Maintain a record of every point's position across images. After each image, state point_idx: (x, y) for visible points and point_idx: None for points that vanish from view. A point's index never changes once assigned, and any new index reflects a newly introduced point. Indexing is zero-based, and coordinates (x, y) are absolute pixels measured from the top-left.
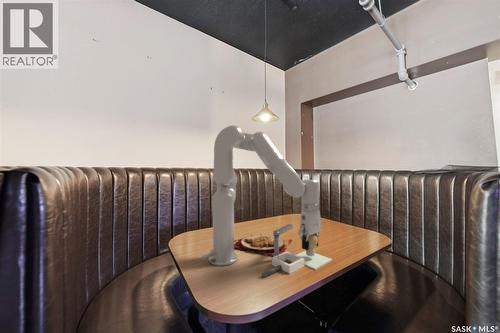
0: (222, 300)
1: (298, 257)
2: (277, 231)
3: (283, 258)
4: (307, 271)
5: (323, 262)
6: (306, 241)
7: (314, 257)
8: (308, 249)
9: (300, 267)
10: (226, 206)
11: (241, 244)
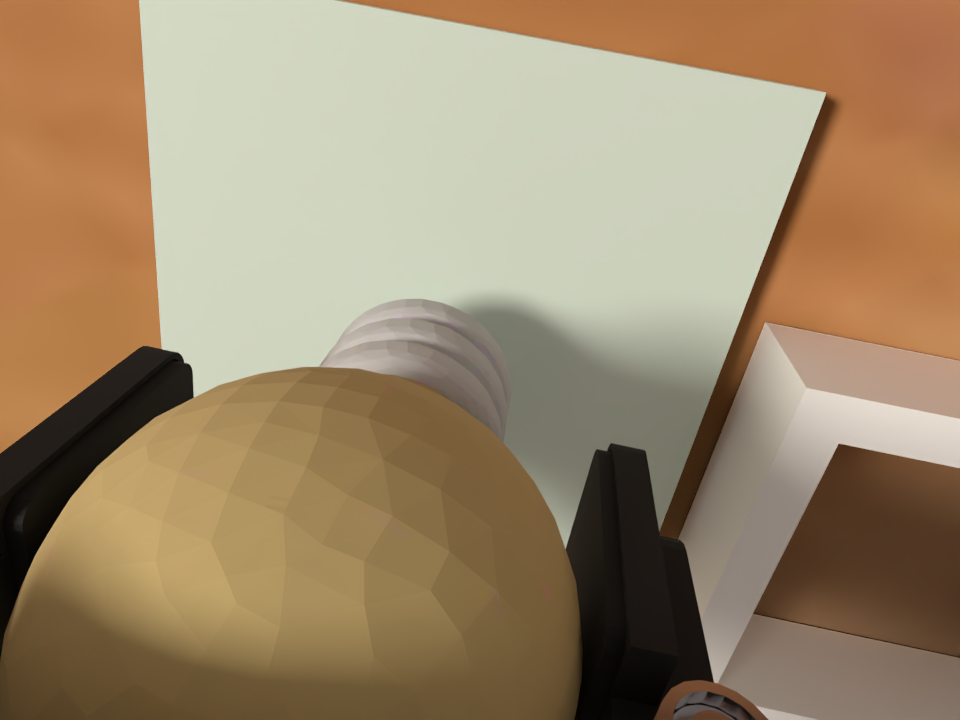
0: None
1: (801, 496)
2: None
3: (782, 652)
4: (953, 199)
5: (432, 64)
6: (653, 683)
7: (347, 296)
8: (633, 453)
9: (887, 351)
10: None
11: None
